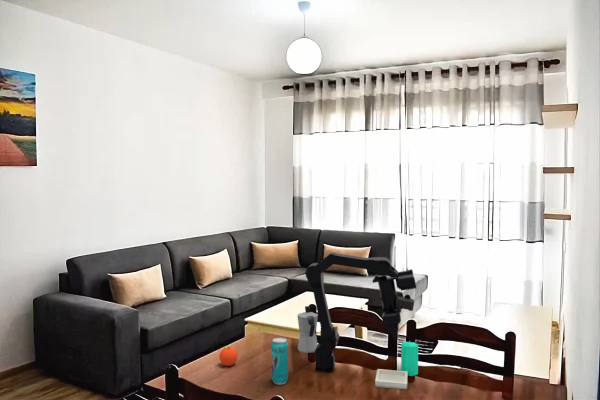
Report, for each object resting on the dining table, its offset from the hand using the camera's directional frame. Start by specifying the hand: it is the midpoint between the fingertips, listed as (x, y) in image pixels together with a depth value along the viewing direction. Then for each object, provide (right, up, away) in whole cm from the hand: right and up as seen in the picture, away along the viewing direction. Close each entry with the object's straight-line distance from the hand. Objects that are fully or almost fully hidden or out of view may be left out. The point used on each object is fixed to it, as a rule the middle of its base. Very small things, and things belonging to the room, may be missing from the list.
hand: (396, 334), depth 175 cm
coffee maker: (-31, -14, +26) cm, 43 cm away
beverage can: (-42, -15, -6) cm, 45 cm away
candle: (+5, -14, +2) cm, 16 cm away
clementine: (-63, -15, +11) cm, 65 cm away
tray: (-3, -15, -6) cm, 16 cm away
